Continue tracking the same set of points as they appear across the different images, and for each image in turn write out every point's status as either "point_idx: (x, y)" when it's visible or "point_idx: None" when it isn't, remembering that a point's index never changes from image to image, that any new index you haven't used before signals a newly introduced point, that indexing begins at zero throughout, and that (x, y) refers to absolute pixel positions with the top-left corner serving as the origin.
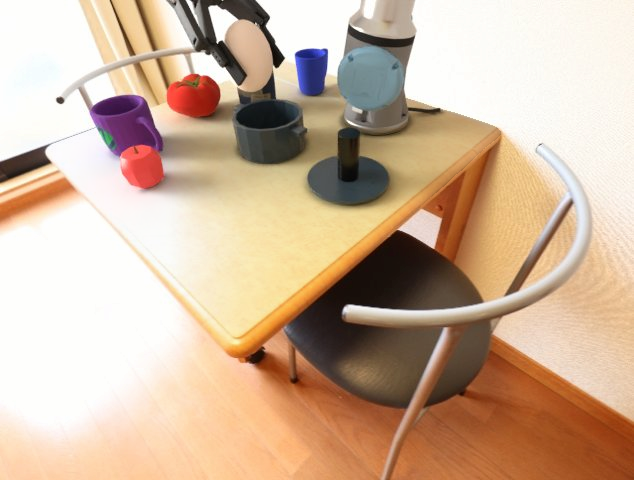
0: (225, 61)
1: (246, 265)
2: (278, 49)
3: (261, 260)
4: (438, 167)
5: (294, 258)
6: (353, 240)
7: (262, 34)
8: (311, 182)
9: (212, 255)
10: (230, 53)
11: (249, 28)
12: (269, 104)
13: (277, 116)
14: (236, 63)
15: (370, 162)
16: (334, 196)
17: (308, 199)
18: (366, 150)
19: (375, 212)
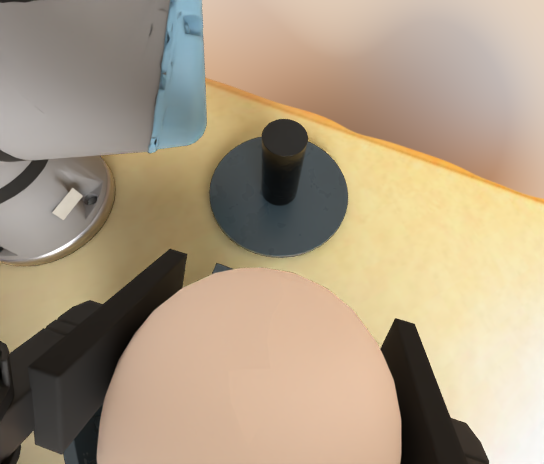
0: (461, 427)
1: (515, 265)
2: (150, 270)
3: (496, 250)
4: None
5: (467, 212)
6: (400, 157)
7: (218, 283)
8: (317, 239)
9: (532, 324)
10: (431, 415)
11: (298, 326)
12: (81, 439)
13: (99, 410)
14: (420, 368)
15: (227, 168)
16: (339, 194)
17: (347, 238)
18: (173, 191)
19: (336, 145)
